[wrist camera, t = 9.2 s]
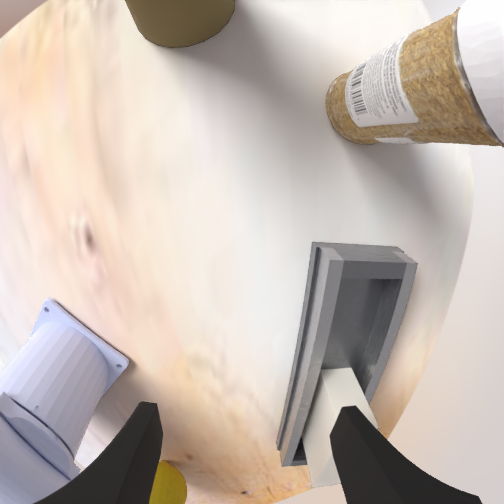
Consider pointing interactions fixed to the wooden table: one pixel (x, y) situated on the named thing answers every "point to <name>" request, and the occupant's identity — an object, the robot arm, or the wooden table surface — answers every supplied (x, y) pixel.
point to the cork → (180, 20)
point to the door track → (344, 326)
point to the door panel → (329, 421)
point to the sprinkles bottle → (429, 84)
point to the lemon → (168, 486)
